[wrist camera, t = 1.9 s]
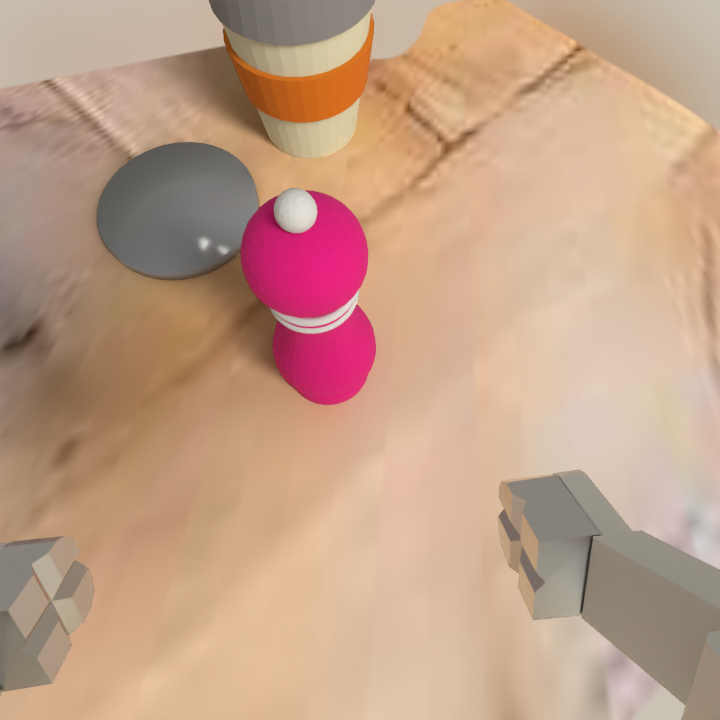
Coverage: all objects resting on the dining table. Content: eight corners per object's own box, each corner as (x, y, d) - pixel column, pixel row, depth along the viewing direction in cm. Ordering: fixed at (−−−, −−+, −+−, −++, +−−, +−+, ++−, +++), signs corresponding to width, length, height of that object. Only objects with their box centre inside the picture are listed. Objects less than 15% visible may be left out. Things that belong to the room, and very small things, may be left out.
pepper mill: (283, 328, 38) (204, 131, 20) (371, 323, 38) (377, 121, 20) (283, 414, 36) (194, 282, 17) (378, 408, 36) (392, 271, 17)
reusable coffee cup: (397, 104, 47) (412, -80, 33) (332, 193, 43) (316, 28, 29) (292, 60, 49) (263, -130, 35) (221, 141, 45) (157, -36, 31)
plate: (71, 241, 41) (63, 233, 40) (164, 132, 46) (159, 122, 45) (203, 305, 39) (198, 298, 38) (287, 184, 43) (285, 175, 42)
